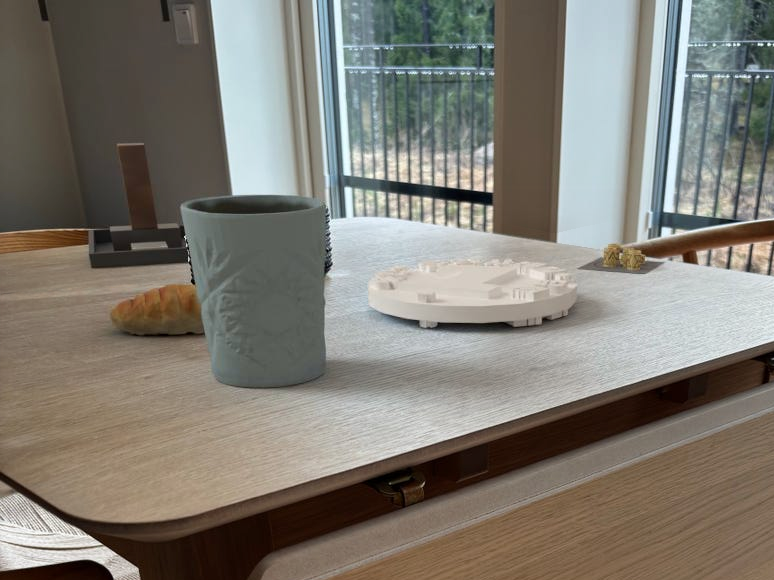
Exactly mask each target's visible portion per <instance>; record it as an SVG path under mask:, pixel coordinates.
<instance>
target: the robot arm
mask: <svg viewBox="0 0 774 580" xmlns="http://www.w3.org/2000/svg"><path fill="white" fill-rule="evenodd" d="M37 2H38V8H39V13H40V19H41V22H50V15H49V12H48V8H47V2H46V0H37ZM158 4H159V10H160V17H161V22H162V23H169V22H170V21H171V19H170V13H169V4H168V0H158Z"/></svg>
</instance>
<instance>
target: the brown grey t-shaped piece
mask: <svg viewBox="0 0 774 580" xmlns="http://www.w3.org/2000/svg"><path fill="white" fill-rule="evenodd" d="M116 147H117V152H118V158H119V164H120V170H121V176H122V182H123V187H124V192H125V198H126V204H127V210H128V215H129V221H130V225H117V226H116V225H113V226H109V229H110V232H111V238H112V243H113V249H114V251H131V250H132V249H131V243H146V242H164V241H165V242H166V244H167V246H168V248H183V246H182V240H181V233H180V228H179V226H178V225H179V224H178V223H177V222H175V223H173V222H172V223H158V219H157V213H156V206H155V200H154V193H153V188H152V182H151V176H150V171H149V169H150V168H149V165H148V157H147V151H146V145H145V143H144V142H133V143H131V142H129V143H116Z"/></svg>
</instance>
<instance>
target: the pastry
mask: <svg viewBox="0 0 774 580" xmlns="http://www.w3.org/2000/svg"><path fill="white" fill-rule="evenodd" d="M201 311H202V307H201V304H200V301H199V299H198V295H197V290H196V285H195V284H188V283H187V284H185V283H179V284H176V283H170V284H169V283H168V284H166V285H164V286H163V287H159V288H158V287H154V288H151V289H149V290H148V291H145V292H143V293H141V294H138V295H135V297H134V298H128V299H126V300H124V301H122V302H119V303H118V304H117V305H116V306H115V307H114V308H113V309H112V310H110V312H109V318H110V320H111V324H112V326H114V327H115V328H117V329H119V330H121V331H123V332H126V333H129V334H131V335H134V334H135V335H137V336H145V335H154V336H158V335H166V334H168V335H171V336H172V335H185V334H187V333H193V334H197V335H198V334H205V330H204V325H203V320H202V313H201Z"/></svg>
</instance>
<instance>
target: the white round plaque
mask: <svg viewBox="0 0 774 580" xmlns="http://www.w3.org/2000/svg"><path fill="white" fill-rule="evenodd" d="M514 262H515V261H513V258H512V259H511V258H508V259H507V258H506V259H504V261H503V262H500V259H499V258H492V259H491V260H490V261H486V262H484V264H483V263H482V260H481V259H477V258H476V257H469V258H468V259H467V258H452V259H450V261H442V260H441V259H430V260H423V261H419V262H418V268H410V269H408V268H407V266H404V265H397V266H396V265H393V266H390V269H378V270H377V272H376V273H375V277H371V278H370V281H368V282H367V297H368V298H367V299H368V300H367V301H368V306H369V307H370V308H373V309H374V310H376V311H378V312H380V313H381V314H385V315H390V316H394V317H397V318H401V319H406V320H415V321H419V322H418V323H419V327H420V328H425V329H426V328H436V327H438V323H456V324H457V323H458V324H459V323H462V324H463V323H464V324H465V323H467V324H468V323H469V324H486V323H487V324H488V323H500V322H503V323H505V324H508V325H509V326H512V327H513V328H518V327H525V326H526V327H527V326H537V325H542V322H543V319H547V320H550V321H552V320H556V319H558V318H562V317H565V316H568V315H569V309H571V308H572V306H573V305H574V304H575V303H576V302H577V301H578V284H577V282H576V281H575V280H574V279H573V277H572V276H573V275H572V274H571V273H568V269H566V268H560V267H557V266H548V264H547V263H546V262H545V263H543V262H537V261H535V262H534V261H526V260H524V261H521V262H516V263H514Z"/></svg>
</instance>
